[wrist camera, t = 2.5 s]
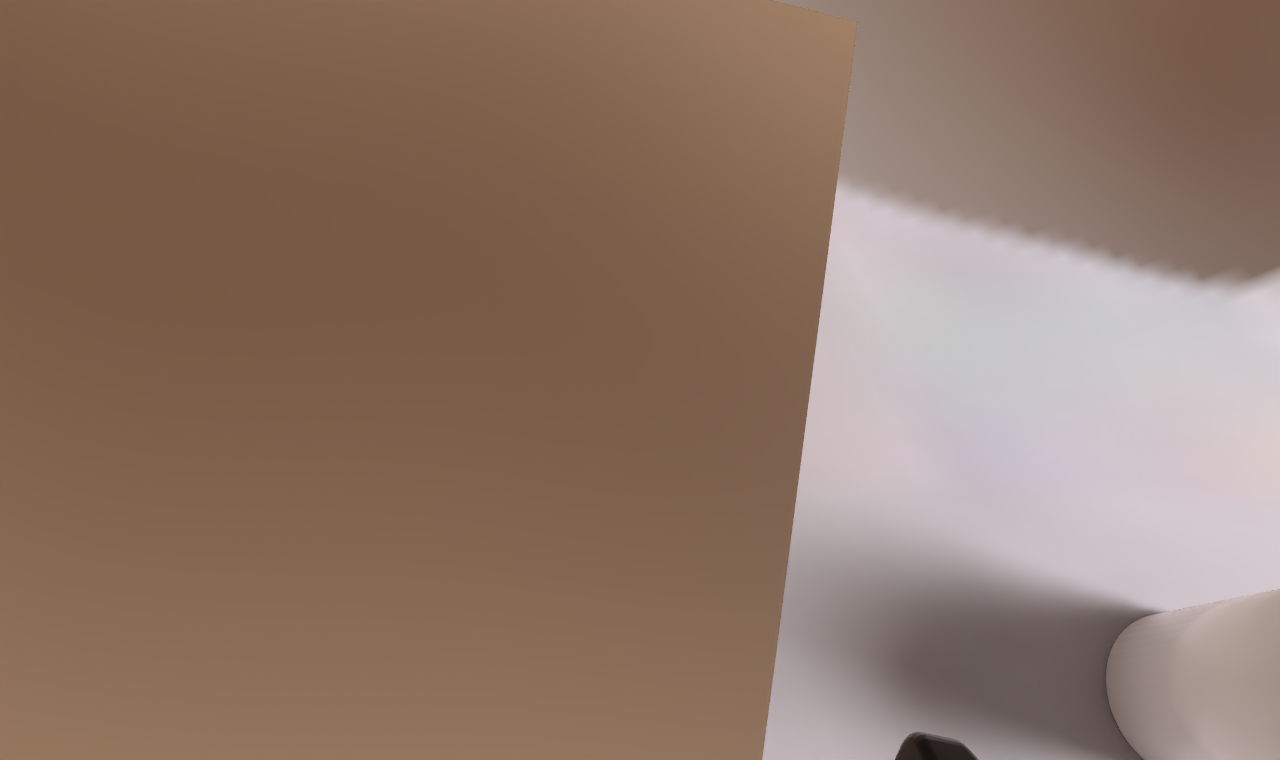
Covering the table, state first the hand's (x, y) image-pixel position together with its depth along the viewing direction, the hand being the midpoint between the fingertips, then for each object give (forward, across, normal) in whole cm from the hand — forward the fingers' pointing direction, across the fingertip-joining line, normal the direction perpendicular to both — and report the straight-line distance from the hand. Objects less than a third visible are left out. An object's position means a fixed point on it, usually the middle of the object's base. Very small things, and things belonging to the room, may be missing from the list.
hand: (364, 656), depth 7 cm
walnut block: (+7, 0, +5) cm, 9 cm away
